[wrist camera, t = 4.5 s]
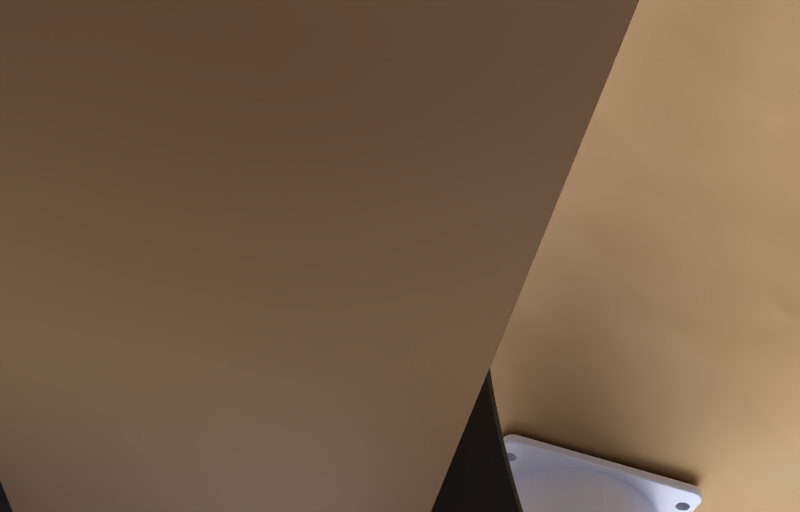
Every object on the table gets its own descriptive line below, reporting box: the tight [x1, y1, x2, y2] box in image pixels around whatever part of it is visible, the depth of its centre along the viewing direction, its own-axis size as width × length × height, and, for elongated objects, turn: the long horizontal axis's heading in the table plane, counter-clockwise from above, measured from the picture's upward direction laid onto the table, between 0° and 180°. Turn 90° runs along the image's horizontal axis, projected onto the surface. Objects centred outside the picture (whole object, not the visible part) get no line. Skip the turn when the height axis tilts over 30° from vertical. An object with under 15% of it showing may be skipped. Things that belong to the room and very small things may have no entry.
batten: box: [0, 0, 639, 512], centre depth 9 cm, size 14×4×6 cm, turn 170°
